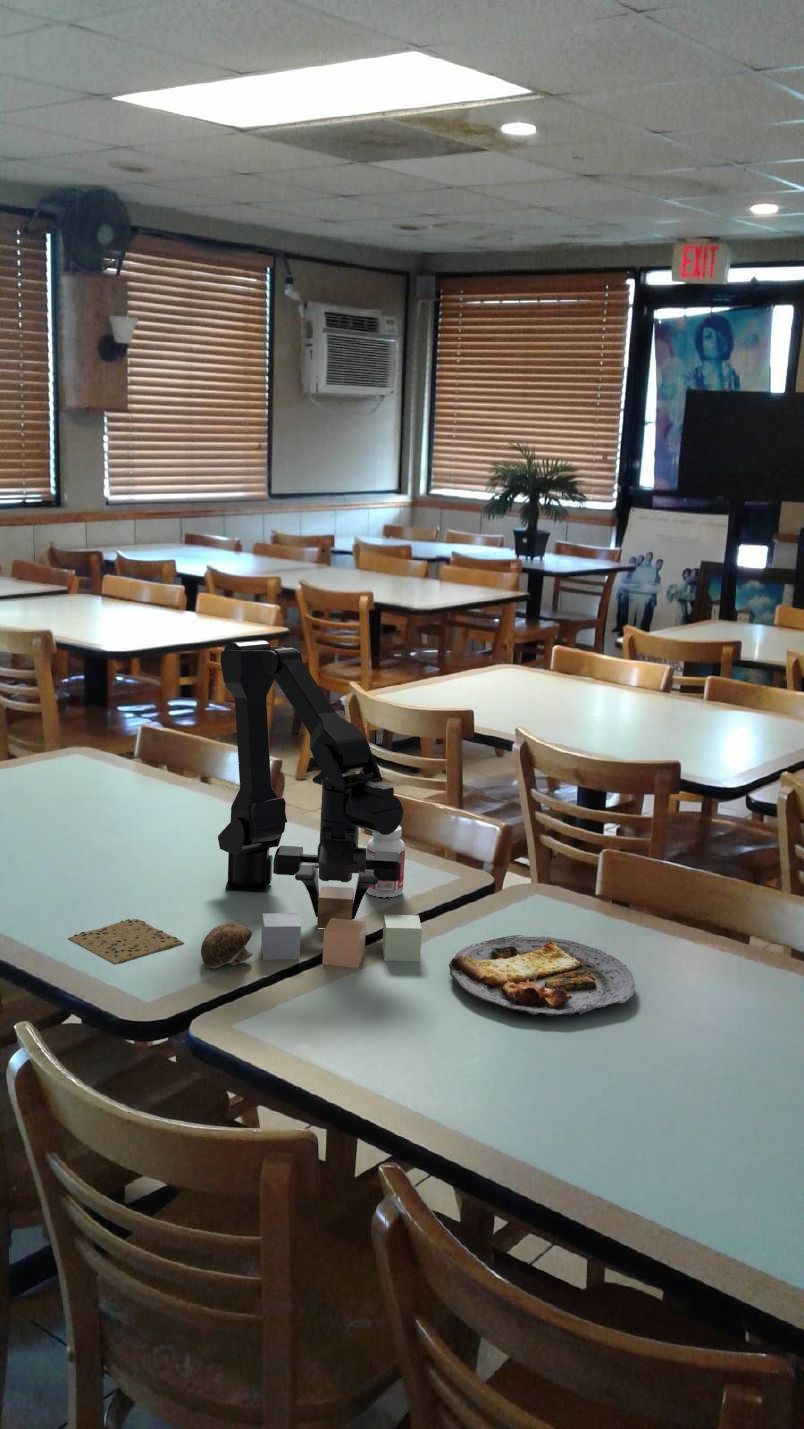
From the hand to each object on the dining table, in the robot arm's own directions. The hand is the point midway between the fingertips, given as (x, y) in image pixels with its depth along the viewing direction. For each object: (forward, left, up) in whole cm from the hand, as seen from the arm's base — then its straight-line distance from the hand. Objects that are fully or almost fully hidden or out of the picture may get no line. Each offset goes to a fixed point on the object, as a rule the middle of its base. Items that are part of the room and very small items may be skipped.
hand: (335, 917), depth 189 cm
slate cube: (-7, -12, -1) cm, 14 cm away
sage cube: (+10, -10, -1) cm, 14 cm away
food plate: (+29, -18, -2) cm, 34 cm away
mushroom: (-14, -17, -1) cm, 22 cm away
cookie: (-29, -11, -2) cm, 31 cm away
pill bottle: (+7, +15, -1) cm, 17 cm away
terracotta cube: (+2, -13, -1) cm, 13 cm away
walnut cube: (0, 0, -1) cm, 1 cm away
